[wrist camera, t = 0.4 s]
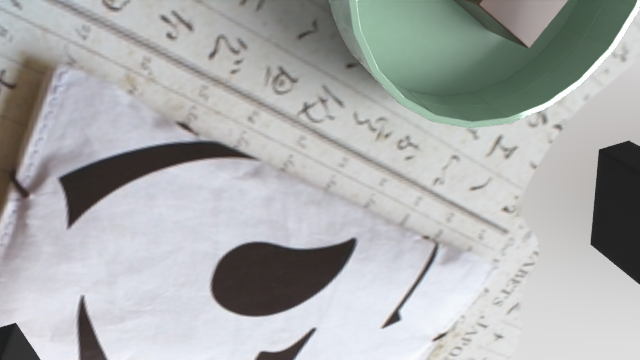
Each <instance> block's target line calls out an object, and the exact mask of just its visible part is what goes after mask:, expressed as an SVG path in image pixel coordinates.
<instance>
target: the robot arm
mask: <svg viewBox="0 0 640 360" xmlns="http://www.w3.org/2000/svg"><path fill="white" fill-rule="evenodd" d="M591 245H592V246H593V247H594V248H596V249H597V250H598V251H599V252H600V253H602V254H603V255H604V256H605V257H607V258H608V259H609V260H610V261H611V262H613V263H614V264H615V265H616V266H618V267H619V268H620V269H621V270H623V271H624V272H625V273H626V274H627V275H629V276H630V277H631V278H633V279H634V280H635V281H636V282H637V283H639V284H640V146H638V145H636V144H634V143H632V142H630V141H626V142H623V143H620V144H616V145H613V146H609V147H606V148H603V149H600V150H599V156H598V167H597V178H596V189H595V201H594V211H593V223H592V234H591ZM0 360H40V358H39V357H38V355H37V354H36V352H35V351H34V349H33V348H32V346H31V345H30V343H29V342H28V340H27V339H26V337H25V336H24V334H23V333H22V331H21V330H20V328H19V327H18V325H17V324H16V323H14V324H10V325H7V326H3V327H0Z"/></svg>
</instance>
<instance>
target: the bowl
mask: <svg viewBox="0 0 640 360" xmlns="http://www.w3.org/2000/svg"><path fill="white" fill-rule="evenodd" d="M328 1H329V5H330V8H331V12H332V16H333V18H334V21H335V23H336V26H337V28H338V31H339V33H340V35H341V37H342V38H343V40H344V42H345V44H346V45H347V47H348V49H349V51H350V52H351V54H352V55H353V56H354V57H355V58H356V59H357V60H358V62H359V63H360V64H361V65H362V66H363V67H364V68H365V69H366V70H367V71H368V72H369V73H370V74H371V75H372V76H373V78H374V79H375V80H376V81H377V82H378V83H379V84H380V85H381V86H382V87H383V88H384V89H385V90H386V91H387V92H388V93H389V94H390V95H391V96H392V97H393V98H394V99H395V100H396V101H397V102H398V103H399V104H401V105H402V106H404V107H406V108H408V109H410V110H412V111H414V112H415V113H417V114H419V115H421V116H423V117H425V118H426V119H428V120H430V121H432V122H436V123H442V124H448V125H454V126H459V127H465V128H477V127H485V126H493V125H502V124H508V123H511V122H514V121H516V120H519V119H521V118H524V117H526V116H529V115H531V114H534V113H536V112H539V111H542V110H544V109H546V108H548V107H549V106H551V105H552V104H554V103H555V102H557V101H558V100H559V99H561V98H562V97H564V96H565V95H567V94H568V93H570V92H571V91H572V90H574V89H575V88H577V87H578V86H580V85H581V84H582V83H583V82H584V81H585V80H586V79H587V78H588V77H589V76H590V75H591V74H592V73H593V72H594V71H595V70H596V69H597V68H598V66H599V65H600V64H601V63H602V62H603V61H604V60H605V59H606V58H607V57H608V56H609V55H610V54H611V53H612V52H613V51H614V49H615V48H616V46H617V45H618V43H619V41H620V40H621V38H622V37H623V35H624V33H625V32H626V30H627V29H628V27H629V25H630V24H631V22H632V21H633V19H634V17H635V16H636V14H637V13H638V11H639V9H640V0H568V2H567V3H566V4H565V5H564V6H563V8H562V9H561V10H560V11H559V13H558V14H557V15H556V16H555V18H554V19H553V20H552V21H551V22H550V24H549V25H548V26H547V27H546V29H545V30H544V31H543V32H542V34H541V35H540V36H539V37H538V38H537V40H536V41H535V42H534V43H533V45H532V46H531V47H530V48H529V49H528V48H526V47H523V46H521V45H519V44H517V43H515V42H512V41H510V40H508V39H506V38H503V37H501V36H499V35H497V34H494V33H492V32H491V31H489V30H488V29H487V28H486V27H485V26H483V25H482V24H481V23H480V22H479V21H477V20H476V19H475V18H474V17H473V16H472V15H470V14H469V13H468V12H467V11H466V10H464V9H463V8H462V7H461V6H460V5H458V4H457V3H456V2H455V1H454V0H328Z"/></svg>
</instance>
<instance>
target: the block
mask: <svg viewBox="0 0 640 360" xmlns="http://www.w3.org/2000/svg"><path fill="white" fill-rule="evenodd" d="M454 1H455V2H456V3H457V4H458V5H460V6H461V7H462V8H463V9H464V10H466V11H467V12H468V13H469V14H470V15H472V16H473V17H474V18H475V19H476V20H477V21H479V22H480V23H481V24H482V25H483V26H485V27H486V28H487V29H488V30H489V31H491V32H492V33H494V34H497V35H499V36H501V37H503V38H506V39H508V40H510V41H512V42H515V43H517V44H519V45H521V46H523V47H526V48H528V49H529V48H530V47H531V46H532V45H533V43H534V42H535V41H536V40H537V38H538V37H539V36H540V35H541V34H542V32H543V31H544V30H545V29H546V27H547V26H548V25H549V24H550V22H551V21H552V20H553V19H554V18H555V16H556V15H557V14H558V13H559V11H560V10H561V9H562V8H563V6H564V5H565V4H566V3H567V2H568V0H454Z"/></svg>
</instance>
